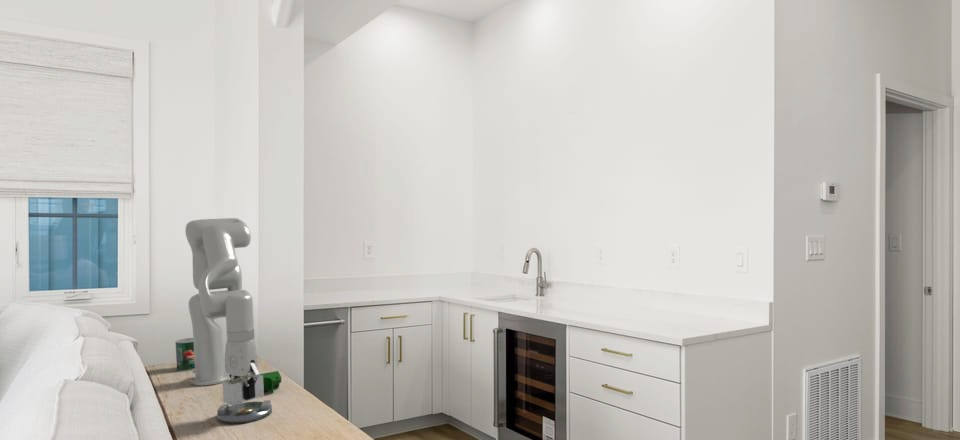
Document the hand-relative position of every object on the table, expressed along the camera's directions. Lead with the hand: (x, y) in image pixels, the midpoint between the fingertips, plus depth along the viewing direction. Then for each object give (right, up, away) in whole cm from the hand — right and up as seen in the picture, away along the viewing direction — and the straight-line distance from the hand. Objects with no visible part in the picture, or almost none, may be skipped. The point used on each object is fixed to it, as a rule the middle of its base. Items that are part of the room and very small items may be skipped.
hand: (244, 396), depth 180 cm
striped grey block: (0, -1, 0) cm, 1 cm away
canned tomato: (-44, -6, +58) cm, 73 cm away
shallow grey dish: (0, -6, 0) cm, 6 cm away
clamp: (-2, -5, +22) cm, 22 cm away
